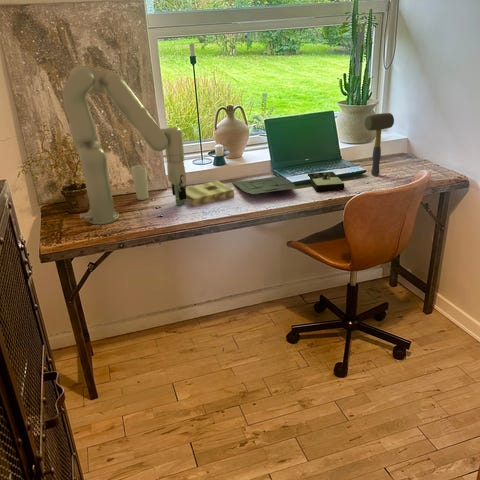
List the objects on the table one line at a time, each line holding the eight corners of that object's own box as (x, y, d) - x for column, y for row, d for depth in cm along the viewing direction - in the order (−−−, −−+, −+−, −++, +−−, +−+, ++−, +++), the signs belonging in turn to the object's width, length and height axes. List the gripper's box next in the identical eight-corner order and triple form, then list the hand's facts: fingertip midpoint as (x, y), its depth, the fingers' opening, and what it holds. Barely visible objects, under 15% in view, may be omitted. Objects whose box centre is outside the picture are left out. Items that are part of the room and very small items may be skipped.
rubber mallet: (368, 179, 230) (372, 116, 217) (359, 175, 237) (363, 113, 224) (390, 175, 234) (396, 113, 221) (381, 171, 240) (386, 111, 227)
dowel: (178, 206, 209) (175, 180, 204) (174, 204, 212) (171, 178, 207) (185, 204, 211) (183, 178, 205) (182, 202, 213) (179, 176, 208)
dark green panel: (248, 200, 208) (247, 192, 207) (232, 187, 236) (231, 180, 235) (300, 193, 213) (300, 185, 212) (278, 181, 241) (278, 174, 240)
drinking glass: (136, 201, 217) (131, 170, 211) (135, 197, 223) (130, 166, 216) (151, 199, 218) (146, 168, 212) (149, 195, 224) (145, 164, 218)
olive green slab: (194, 206, 208) (193, 199, 207) (179, 196, 221) (178, 189, 219) (234, 196, 217) (233, 189, 215) (217, 187, 230) (217, 180, 228)
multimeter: (333, 178, 235) (333, 168, 233) (344, 191, 218) (345, 180, 216) (306, 180, 235) (307, 170, 232) (316, 193, 217) (316, 183, 215)
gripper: (159, 154, 207) (164, 193, 215) (175, 163, 194) (179, 204, 201) (175, 151, 211) (179, 190, 218) (191, 160, 197) (195, 200, 204)
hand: (179, 196), depth 210 cm, fingers open, 6 cm apart
